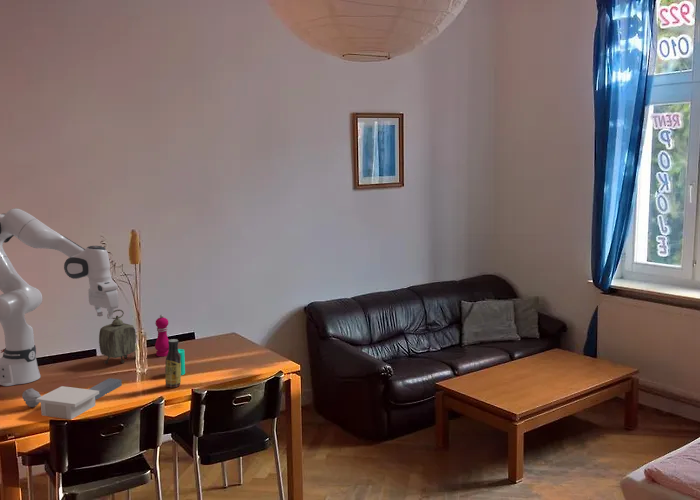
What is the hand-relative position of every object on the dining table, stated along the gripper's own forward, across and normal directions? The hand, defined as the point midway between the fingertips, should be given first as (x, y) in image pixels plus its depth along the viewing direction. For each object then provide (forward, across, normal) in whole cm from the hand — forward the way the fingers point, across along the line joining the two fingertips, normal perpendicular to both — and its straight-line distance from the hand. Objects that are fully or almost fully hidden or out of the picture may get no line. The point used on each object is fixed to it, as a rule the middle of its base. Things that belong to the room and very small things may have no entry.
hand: (105, 317), depth 276 cm
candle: (+31, +7, +27) cm, 41 cm away
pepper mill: (+29, -22, +36) cm, 51 cm away
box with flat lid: (+29, +14, -24) cm, 40 cm away
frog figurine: (+28, +1, -33) cm, 43 cm away
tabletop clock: (+28, -26, +16) cm, 41 cm away
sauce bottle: (+32, +19, +17) cm, 40 cm away
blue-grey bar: (+30, +5, -7) cm, 31 cm away
